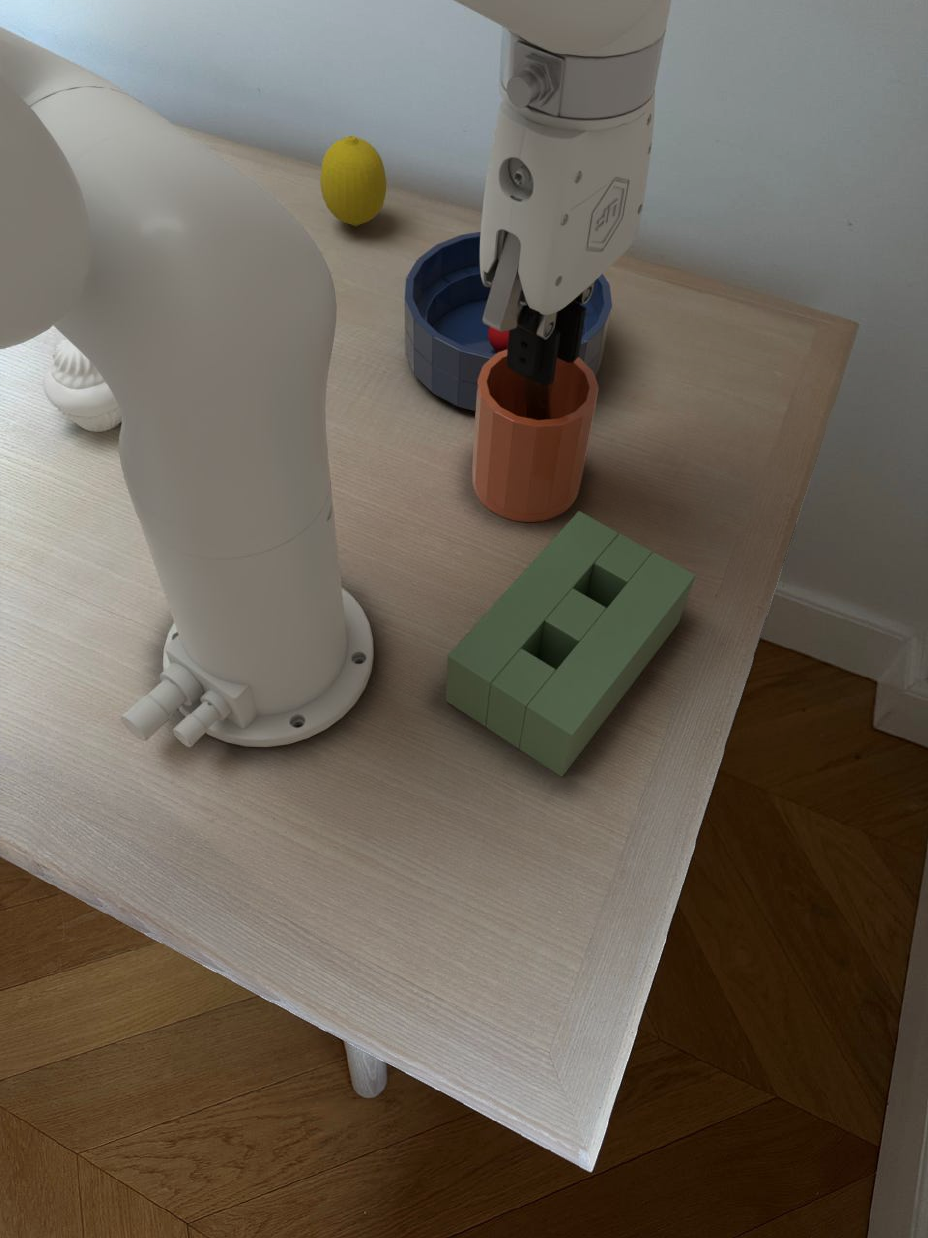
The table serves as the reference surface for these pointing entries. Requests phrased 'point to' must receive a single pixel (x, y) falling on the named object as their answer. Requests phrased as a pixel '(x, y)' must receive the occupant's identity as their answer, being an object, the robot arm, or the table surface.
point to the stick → (536, 399)
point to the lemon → (353, 180)
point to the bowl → (470, 320)
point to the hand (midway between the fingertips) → (542, 361)
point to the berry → (498, 339)
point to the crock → (531, 441)
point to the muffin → (80, 390)
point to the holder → (567, 641)
